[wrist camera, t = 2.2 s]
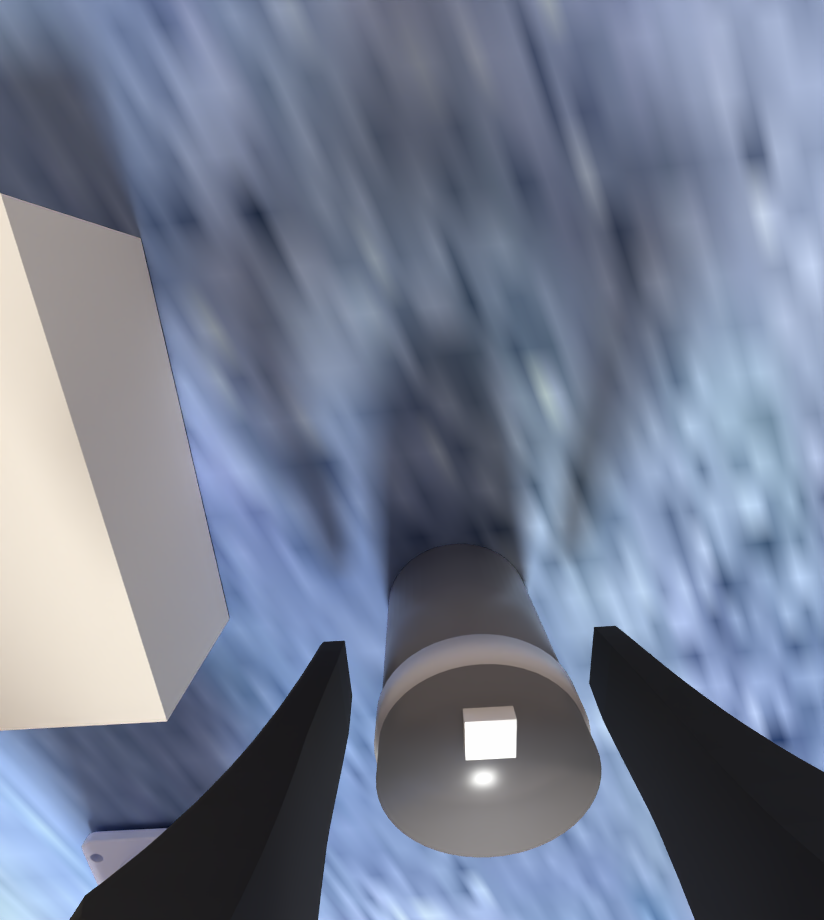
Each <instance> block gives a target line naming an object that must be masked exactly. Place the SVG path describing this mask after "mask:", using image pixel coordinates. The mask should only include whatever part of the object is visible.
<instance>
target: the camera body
mask: <svg viewBox="0 0 824 920" xmlns="http://www.w3.org/2000/svg"><path fill="white" fill-rule="evenodd" d="M228 620H229V615H228V611H227V607H226V602H225V598H224V594H223V589H222V585H221V581H220V577H219V572H218V568H217V564H216V559H215V555H214V551H213V547H212V542H211V538H210V534H209V529H208V525H207V521H206V517H205V512H204V508H203V504H202V499H201V495H200V491H199V487H198V482H197V478H196V474H195V469H194V465H193V461H192V457H191V452H190V448H189V444H188V439H187V435H186V431H185V427H184V422H183V418H182V414H181V409H180V405H179V401H178V397H177V392H176V388H175V384H174V379H173V375H172V371H171V367H170V362H169V358H168V354H167V349H166V345H165V341H164V337H163V332H162V328H161V324H160V319H159V315H158V311H157V307H156V302H155V298H154V294H153V289H152V285H151V281H150V277H149V272H148V268H147V264H146V259H145V255H144V251H143V246H142V242H141V238H138V237H135V236H132V235H129V234H126V233H123V232H119V231H116V230H113V229H110V228H107V227H104V226H101V225H98V224H95V223H91V222H88V221H85V220H82V219H79V218H76V217H73V216H70V215H67V214H64V213H60V212H57V211H54V210H51V209H48V208H45V207H42V206H39V205H36V204H32V203H29V202H26V201H23V200H20V199H17V198H14V197H11V196H8V195H4V194H1V193H0V731H2V730H20V729H38V728H56V727H75V726H93V725H111V724H129V723H147V722H165V721H168V719H169V718H170V716H171V714H172V713H173V711H174V709H175V708H176V706H177V704H178V703H179V701H180V699H181V698H182V696H183V694H184V693H185V691H186V690H187V688H188V686H189V685H190V683H191V681H192V680H193V678H194V676H195V675H196V673H197V671H198V670H199V668H200V667H201V665H202V663H203V662H204V660H205V658H206V657H207V655H208V653H209V652H210V650H211V648H212V647H213V645H214V643H215V642H216V640H217V639H218V637H219V635H220V634H221V632H222V630H223V629H224V627H225V625H226V624H227V622H228Z"/></svg>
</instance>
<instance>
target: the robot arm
mask: <svg viewBox="0 0 824 920" xmlns="http://www.w3.org/2000/svg"><path fill="white" fill-rule="evenodd" d="M589 684H590V687H591V689H592V692H593V695H594V698H595V700H596V703H597V706H598V708H599V711H600V713H601V716H602V718H603V721H604V723H605V725H606V727H607V729H608V731H609V733H610V735H611V737H612V739H613V741H614V743H615V745H616V747H617V749H618V751H619V753H620V755H621V757H622V759H623V761H624V763H625V765H626V767H627V768H628V770H629V772H630V774H631V776H632V778H633V780H634V782H635V784H636V786H637V788H638V790H639V792H640V794H641V796H642V798H643V800H644V802H645V804H646V805H647V807H648V809H649V811H650V814H651V816H652V818H653V820H654V822H655V824H656V826H657V828H658V831H659V833H660V835H661V838H662V840H663V842H664V845H665V847H666V850H667V852H668V854H669V857H670V859H671V862H672V864H673V866H674V869H675V871H676V874H677V876H678V878H679V881H680V883H681V886H682V888H683V891H684V893H685V896H686V898H687V901H688V904H689V906H690V909H691V911H692V914H693V916H694V919H695V920H824V772H823V771H821V770H819V769H817V768H816V767H814V766H812V765H810V764H809V763H807V762H805V761H803V760H802V759H800V758H798V757H796V756H795V755H793V754H791V753H790V752H788V751H786V750H785V749H783V748H781V747H780V746H778V745H776V744H775V743H773V742H771V741H770V740H768V739H767V738H765V737H764V736H762V735H760V734H759V733H757V732H756V731H754V730H753V729H751V728H750V727H748V726H746V725H745V724H743V723H742V722H740V721H739V720H737V719H736V718H734V717H733V716H731V715H730V714H728V713H727V712H726V711H724V710H723V709H721V708H720V707H719V706H717V705H716V704H714V703H713V702H712V701H710V700H709V699H707V698H706V697H705V696H703V695H702V694H701V693H699V692H698V691H697V690H695V689H694V688H693V687H691V686H690V685H689V684H687V683H686V682H685V681H683V680H682V679H681V678H679V677H678V676H677V675H676V674H674V673H673V672H672V671H671V670H669V669H668V668H667V667H665V666H664V665H663V664H662V663H661V662H659V661H658V660H657V659H656V658H654V657H653V656H652V655H651V654H649V653H648V652H647V651H646V650H645V649H643V648H642V647H641V646H640V645H638V644H637V643H636V642H635V641H634V640H632V639H631V638H630V637H629V636H628V635H626V634H625V633H624V632H623V631H621V630H620V629H619V628H618V627H616V626H606V627H594V635H593V646H592V658H591V669H590V681H589ZM351 703H352V691H351V684H350V676H349V669H348V662H347V654H346V647H345V641H331V642H323V643H322V644H321V645H320V647H319V649H318V650H317V652H316V654H315V655H314V657H313V658H312V660H311V662H310V663H309V665H308V666H307V668H306V669H305V671H304V673H303V674H302V676H301V677H300V679H299V680H298V682H297V683H296V684H295V686H294V687H293V689H292V690H291V692H290V693H289V694H288V696H287V697H286V699H285V700H284V702H283V703H282V704H281V706H280V707H279V709H278V710H277V711H276V712H275V714H274V715H273V716H272V718H271V719H270V720H269V721H268V723H267V724H266V725H265V727H264V728H263V729H262V731H261V732H260V733H259V734H258V736H257V737H256V738H255V739H254V740H253V742H252V743H251V744H250V745H249V746H248V747H247V749H246V750H245V751H244V752H243V753H242V754H241V756H240V757H239V758H238V759H237V760H236V761H235V762H234V763H233V764H232V766H231V767H230V768H229V769H228V770H227V771H226V772H225V773H224V774H223V775H222V776H221V777H220V778H219V779H218V780H217V781H216V782H215V783H214V785H213V786H212V787H211V788H210V789H209V790H208V791H207V792H206V793H205V794H204V795H203V796H202V797H201V798H200V799H199V800H198V801H197V802H196V803H195V804H194V805H193V806H191V807H190V808H189V809H188V810H187V811H186V812H185V813H184V814H183V815H182V816H181V817H179V818H178V819H177V820H176V821H175V822H174V823H173V824H172V825H171V826H170V827H168V828H157V829H138V830H119V831H100V832H93V833H91V834H89V835H88V836H87V838H86V840H85V841H84V843H83V845H82V850H83V853H84V855H85V857H86V859H87V862H88V864H89V866H90V868H91V870H92V873H93V875H94V877H95V879H96V881H97V884H98V886H97V887H96V888H94V889H93V890H92V891H90V892H89V893H88V894H87V895H85V896H84V898H83V900H82V901H81V903H80V904H79V906H78V908H77V909H76V911H75V912H74V914H73V915H72V917H71V918H70V920H318V914H319V905H320V896H321V888H322V880H323V872H324V864H325V855H326V847H327V841H328V835H329V829H330V824H331V819H332V814H333V809H334V804H335V799H336V794H337V789H338V784H339V779H340V774H341V769H342V765H343V759H344V754H345V749H346V744H347V739H348V734H349V724H350V714H351Z"/></svg>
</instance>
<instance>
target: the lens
mask: <svg viewBox="0 0 824 920" xmlns="http://www.w3.org/2000/svg"><path fill="white" fill-rule="evenodd" d="M374 747H375V757H376V762H377V773H376V789H377V794H378V798H379V801H380V803H381V806H382V808H383V810H384V812H385V813H386V815H387V817H388V818H389V819H390V820H391V822H392V823H393V824H394V825H395V826H396V827H397V828H398V829H399V830H400V831H402V832H403V833H404V834H405V835H407V836H408V837H410V838H411V839H413V840H414V841H416V842H418V843H420V844H422V845H424V846H426V847H429V848H431V849H434V850H437V851H440V852H444V853H447V854H452V855H458V856H466V857H496V856H505V855H510V854H516V853H520V852H523V851H527V850H530V849H533V848H536V847H538V846H541V845H543V844H545V843H547V842H549V841H551V840H553V839H555V838H557V837H558V836H560V835H561V834H563V833H565V832H566V831H567V830H568V829H570V828H571V827H572V826H574V825H575V824H576V823H577V822H578V821H579V820H580V819H581V818H582V817H583V815H584V814H585V813H586V812H587V810H588V809H589V808H590V806H591V804H592V803H593V801H594V799H595V797H596V794H597V792H598V789H599V785H600V780H601V762H600V756H599V753H598V750H597V748H596V745H595V743H594V741H593V738H592V736H591V734H590V725H589V720H588V717H587V715H586V712H585V709H584V707H583V705H582V703H581V701H580V698H579V696H578V694H577V692H576V690H575V687H574V685H573V683H572V681H571V679H570V677H569V676H568V674H567V672H566V671H565V670H564V669H563V667H562V666H561V665H560V664H559V662H558V660H557V657H556V655H555V653H554V651H553V648H552V646H551V644H550V642H549V639H548V637H547V635H546V633H545V630H544V628H543V626H542V624H541V621H540V619H539V617H538V615H537V612H536V610H535V608H534V606H533V603H532V601H531V599H530V597H529V594H528V592H527V590H526V588H525V585H524V583H523V581H522V579H521V577H520V575H519V573H518V572H517V570H516V569H515V568H514V567H513V565H512V564H511V563H510V562H509V561H508V560H506V559H505V558H504V557H502V556H501V555H499V554H498V553H496V552H494V551H492V550H489V549H487V548H484V547H481V546H477V545H470V544H450V545H444V546H439V547H436V548H433V549H430V550H428V551H426V552H424V553H422V554H420V555H418V556H417V557H415V558H414V559H412V560H411V561H410V562H409V563H408V564H407V565H406V566H405V567H404V568H403V569H402V570H401V571H400V573H399V574H398V576H397V577H396V579H395V581H394V583H393V585H392V588H391V591H390V596H389V605H388V619H387V633H386V647H385V661H384V675H383V689H382V692H381V695H380V698H379V701H378V707H377V716H376V728H375V740H374Z"/></svg>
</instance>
